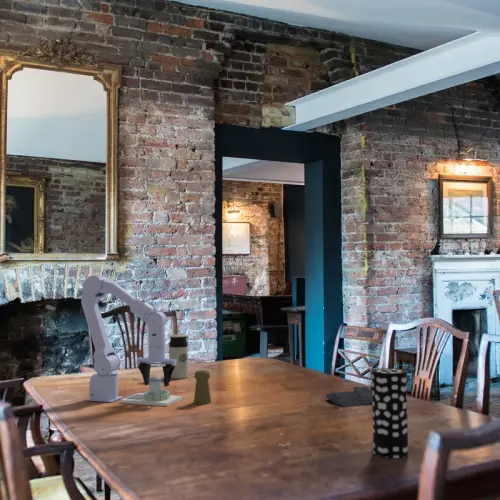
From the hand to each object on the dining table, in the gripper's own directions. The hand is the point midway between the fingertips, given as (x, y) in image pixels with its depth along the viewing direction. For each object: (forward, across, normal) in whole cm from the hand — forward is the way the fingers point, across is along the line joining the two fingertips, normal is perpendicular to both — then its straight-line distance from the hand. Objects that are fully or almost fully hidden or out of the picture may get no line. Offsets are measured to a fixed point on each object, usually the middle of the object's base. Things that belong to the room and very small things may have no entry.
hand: (156, 385), depth 211 cm
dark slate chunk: (+6, +67, +22) cm, 70 cm away
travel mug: (+6, -14, +45) cm, 47 cm away
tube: (+4, 0, -1) cm, 4 cm away
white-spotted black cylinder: (+6, +84, -36) cm, 92 cm away
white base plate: (+5, -2, 0) cm, 6 cm away
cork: (+6, +16, +3) cm, 17 cm away
